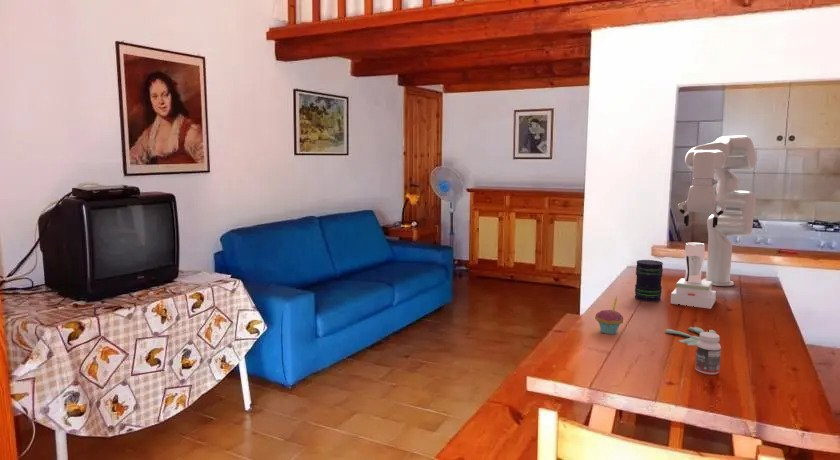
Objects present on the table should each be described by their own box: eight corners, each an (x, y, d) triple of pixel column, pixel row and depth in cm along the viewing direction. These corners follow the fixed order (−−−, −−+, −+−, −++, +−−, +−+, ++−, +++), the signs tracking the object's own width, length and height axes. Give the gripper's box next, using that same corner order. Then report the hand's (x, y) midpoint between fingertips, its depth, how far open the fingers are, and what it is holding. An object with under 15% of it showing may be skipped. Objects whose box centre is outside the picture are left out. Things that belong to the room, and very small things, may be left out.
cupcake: (622, 329, 184) (624, 293, 182) (622, 337, 176) (624, 299, 174) (595, 326, 186) (596, 291, 185) (594, 334, 178) (595, 297, 177)
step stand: (676, 296, 228) (678, 276, 227) (715, 301, 221) (716, 281, 220) (670, 303, 217) (671, 283, 216) (710, 308, 209) (712, 287, 208)
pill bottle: (690, 367, 150) (692, 331, 149) (710, 366, 150) (713, 331, 149) (703, 375, 144) (705, 338, 143) (724, 374, 145) (726, 337, 144)
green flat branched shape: (690, 350, 165) (691, 342, 165) (642, 329, 186) (643, 322, 186) (746, 344, 170) (747, 337, 170) (693, 324, 191) (694, 317, 191)
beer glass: (699, 280, 221) (701, 242, 220) (705, 283, 214) (708, 245, 213) (680, 279, 222) (682, 242, 220) (686, 283, 215) (688, 244, 213)
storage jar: (634, 300, 222) (636, 263, 220) (634, 294, 231) (636, 259, 229) (661, 302, 218) (663, 265, 216) (660, 297, 227) (663, 260, 225)
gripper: (728, 182, 216) (726, 226, 219) (680, 181, 226) (678, 223, 228) (726, 184, 210) (724, 229, 213) (677, 183, 219) (674, 226, 222)
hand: (700, 226), depth 220 cm, fingers open, 9 cm apart
